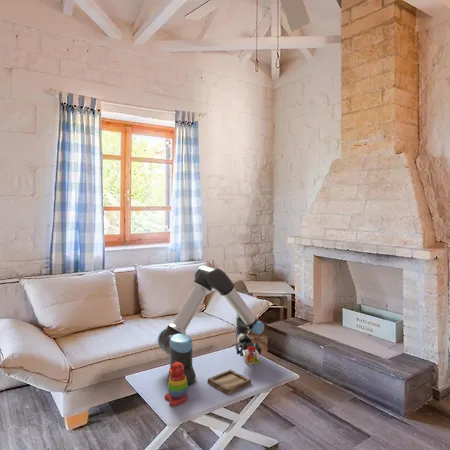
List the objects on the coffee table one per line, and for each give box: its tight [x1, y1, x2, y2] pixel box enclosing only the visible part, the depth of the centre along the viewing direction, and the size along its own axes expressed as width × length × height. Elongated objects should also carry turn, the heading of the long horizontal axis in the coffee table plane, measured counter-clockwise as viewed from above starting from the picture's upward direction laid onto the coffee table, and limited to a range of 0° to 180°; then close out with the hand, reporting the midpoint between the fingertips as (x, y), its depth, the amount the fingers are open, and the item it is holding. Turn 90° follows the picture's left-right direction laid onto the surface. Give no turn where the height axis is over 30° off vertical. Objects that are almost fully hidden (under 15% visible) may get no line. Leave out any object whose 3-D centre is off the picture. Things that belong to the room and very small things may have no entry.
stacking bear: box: [164, 361, 189, 407], centre depth 173 cm, size 11×10×18 cm
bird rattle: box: [244, 346, 261, 367], centre depth 201 cm, size 6×11×9 cm
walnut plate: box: [207, 369, 252, 395], centre depth 189 cm, size 16×16×2 cm
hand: (251, 357), depth 196 cm, fingers closed on bird rattle, 7 cm apart
